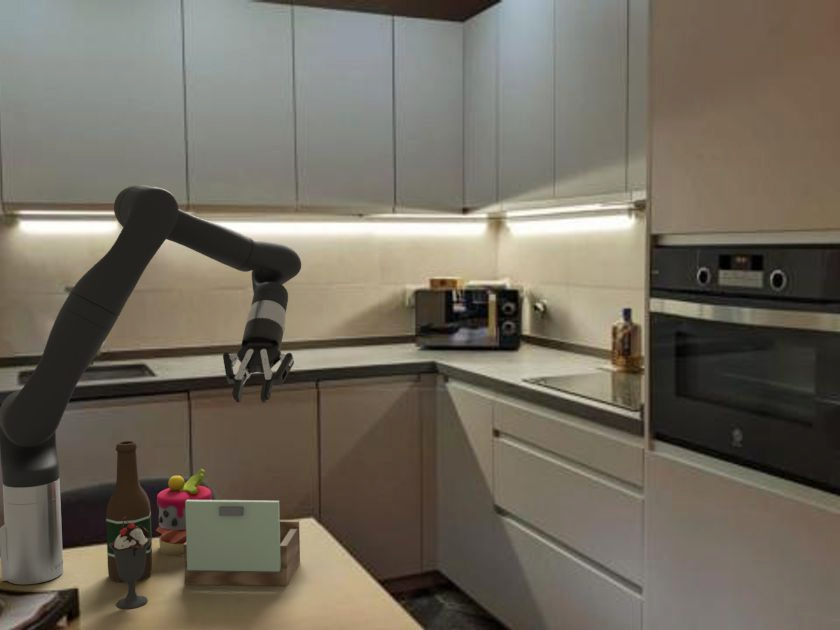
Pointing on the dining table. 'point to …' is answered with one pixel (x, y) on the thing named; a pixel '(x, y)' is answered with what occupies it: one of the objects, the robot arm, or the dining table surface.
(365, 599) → the dining table surface
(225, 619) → the dining table surface
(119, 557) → the sundae
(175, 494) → the cake
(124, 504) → the beer bottle
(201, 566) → the pale green panel
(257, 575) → the wooden box
